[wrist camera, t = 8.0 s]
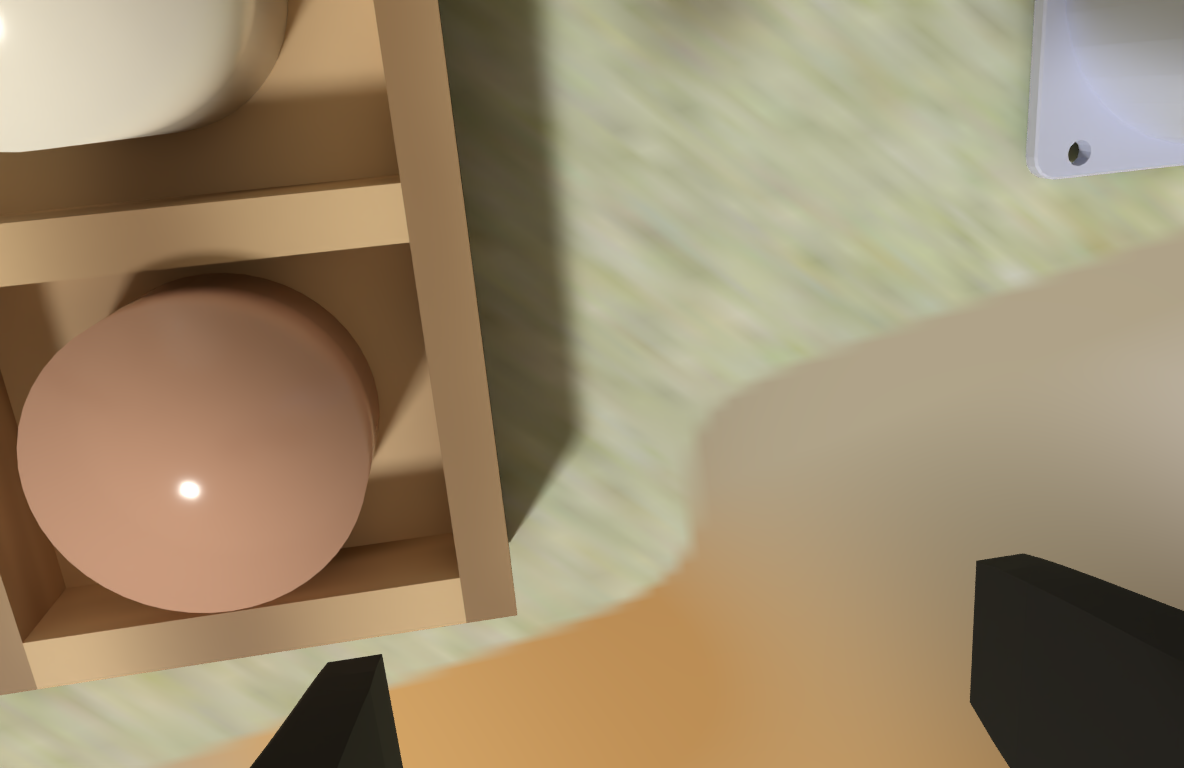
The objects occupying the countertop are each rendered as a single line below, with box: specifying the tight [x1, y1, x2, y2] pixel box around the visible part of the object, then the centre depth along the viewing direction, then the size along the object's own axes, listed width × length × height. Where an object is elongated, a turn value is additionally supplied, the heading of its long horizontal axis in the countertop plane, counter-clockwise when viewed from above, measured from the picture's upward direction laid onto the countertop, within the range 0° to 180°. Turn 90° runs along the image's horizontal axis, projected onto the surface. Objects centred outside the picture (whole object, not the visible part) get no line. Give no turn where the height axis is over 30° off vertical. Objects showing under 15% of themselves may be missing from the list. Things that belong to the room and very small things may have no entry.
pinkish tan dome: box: [17, 273, 380, 613], centre depth 17 cm, size 6×6×3 cm
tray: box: [0, 0, 517, 695], centre depth 17 cm, size 10×16×3 cm, turn 5°
